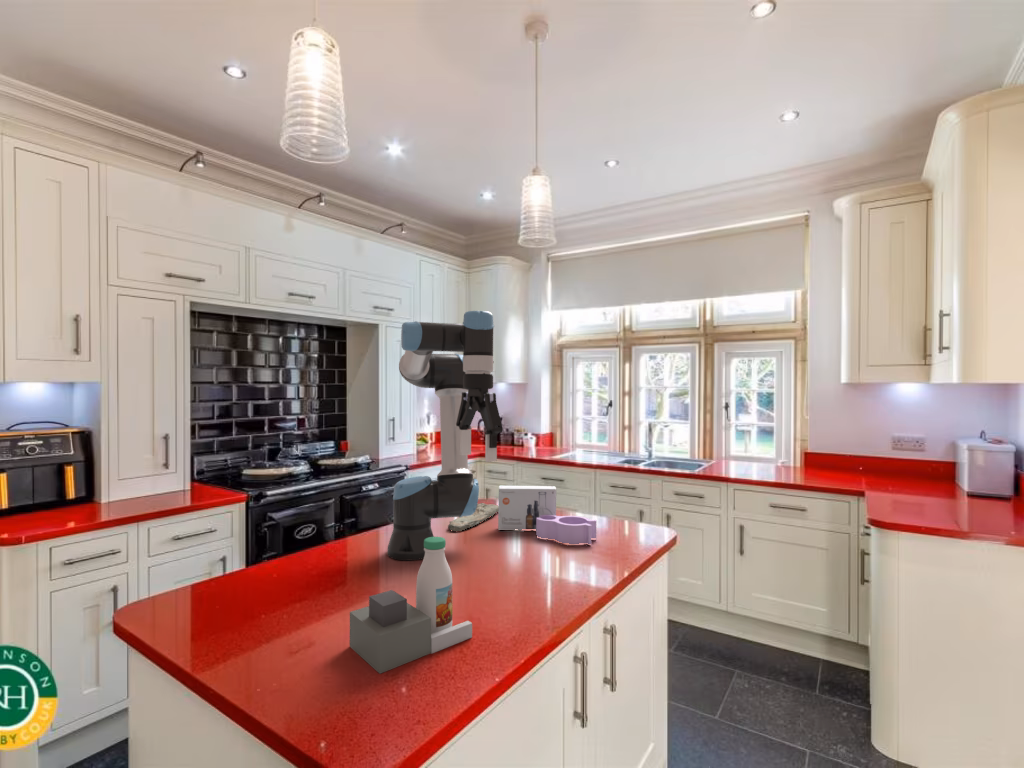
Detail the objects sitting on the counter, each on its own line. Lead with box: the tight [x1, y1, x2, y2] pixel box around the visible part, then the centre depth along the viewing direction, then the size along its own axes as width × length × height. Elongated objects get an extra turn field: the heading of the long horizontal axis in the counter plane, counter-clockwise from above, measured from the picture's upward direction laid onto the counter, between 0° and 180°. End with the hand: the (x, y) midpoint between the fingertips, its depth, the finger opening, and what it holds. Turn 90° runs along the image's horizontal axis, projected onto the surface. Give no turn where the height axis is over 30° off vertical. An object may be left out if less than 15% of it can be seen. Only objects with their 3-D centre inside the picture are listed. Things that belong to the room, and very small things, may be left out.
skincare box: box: [497, 485, 557, 530], centre depth 188 cm, size 21×6×16 cm, turn 90°
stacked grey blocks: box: [349, 589, 473, 674], centre depth 106 cm, size 14×21×11 cm, turn 132°
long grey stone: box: [447, 502, 498, 532], centre depth 201 cm, size 35×5×10 cm
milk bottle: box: [415, 536, 453, 634], centre depth 110 cm, size 8×8×20 cm
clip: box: [535, 514, 597, 545], centre depth 177 cm, size 20×12×7 cm, turn 66°
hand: (477, 458), depth 129 cm, fingers open, 13 cm apart
